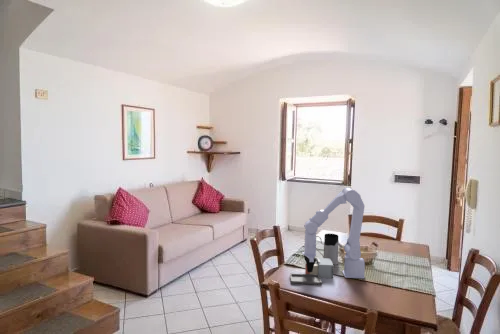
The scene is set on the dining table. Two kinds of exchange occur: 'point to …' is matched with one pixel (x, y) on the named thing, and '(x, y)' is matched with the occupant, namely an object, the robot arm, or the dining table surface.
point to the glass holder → (330, 247)
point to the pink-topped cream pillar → (315, 269)
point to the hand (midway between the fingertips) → (309, 270)
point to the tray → (305, 279)
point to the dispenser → (325, 267)
